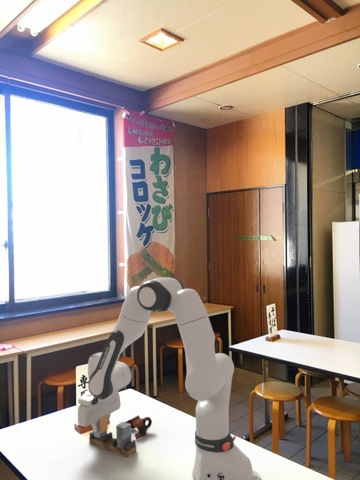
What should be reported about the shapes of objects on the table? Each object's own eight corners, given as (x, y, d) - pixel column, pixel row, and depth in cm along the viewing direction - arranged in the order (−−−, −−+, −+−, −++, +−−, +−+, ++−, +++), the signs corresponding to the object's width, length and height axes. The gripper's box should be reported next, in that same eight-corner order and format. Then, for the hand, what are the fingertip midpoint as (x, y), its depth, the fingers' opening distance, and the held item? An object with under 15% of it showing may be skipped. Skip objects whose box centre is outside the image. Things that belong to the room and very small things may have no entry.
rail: (136, 451, 152) (135, 424, 152) (127, 457, 148) (126, 430, 148) (98, 437, 163) (97, 413, 163) (89, 443, 159) (88, 417, 159)
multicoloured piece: (108, 434, 159) (107, 414, 159) (101, 438, 156) (100, 418, 156) (101, 431, 161) (100, 412, 161) (93, 436, 158) (93, 415, 158)
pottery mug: (130, 444, 158) (122, 423, 161) (126, 444, 166) (119, 424, 169) (157, 429, 163) (149, 409, 166) (152, 430, 171) (145, 411, 174)
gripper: (112, 383, 169) (113, 416, 169) (74, 400, 152) (75, 437, 152) (123, 386, 165) (124, 419, 165) (86, 404, 148) (87, 441, 148)
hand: (100, 428), depth 159 cm, fingers closed on multicoloured piece, 4 cm apart
